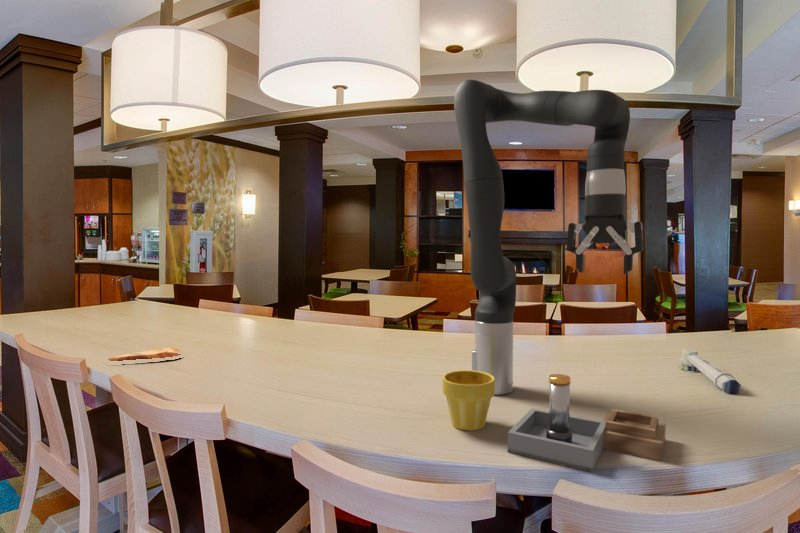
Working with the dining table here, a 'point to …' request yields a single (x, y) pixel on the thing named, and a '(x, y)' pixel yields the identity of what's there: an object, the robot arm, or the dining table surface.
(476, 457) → the dining table surface
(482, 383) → the plant pot
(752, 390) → the dining table surface
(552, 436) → the gold-capped glass canister
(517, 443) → the tray
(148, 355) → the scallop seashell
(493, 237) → the robot arm
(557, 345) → the dining table surface
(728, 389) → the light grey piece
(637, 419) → the brown square open box
